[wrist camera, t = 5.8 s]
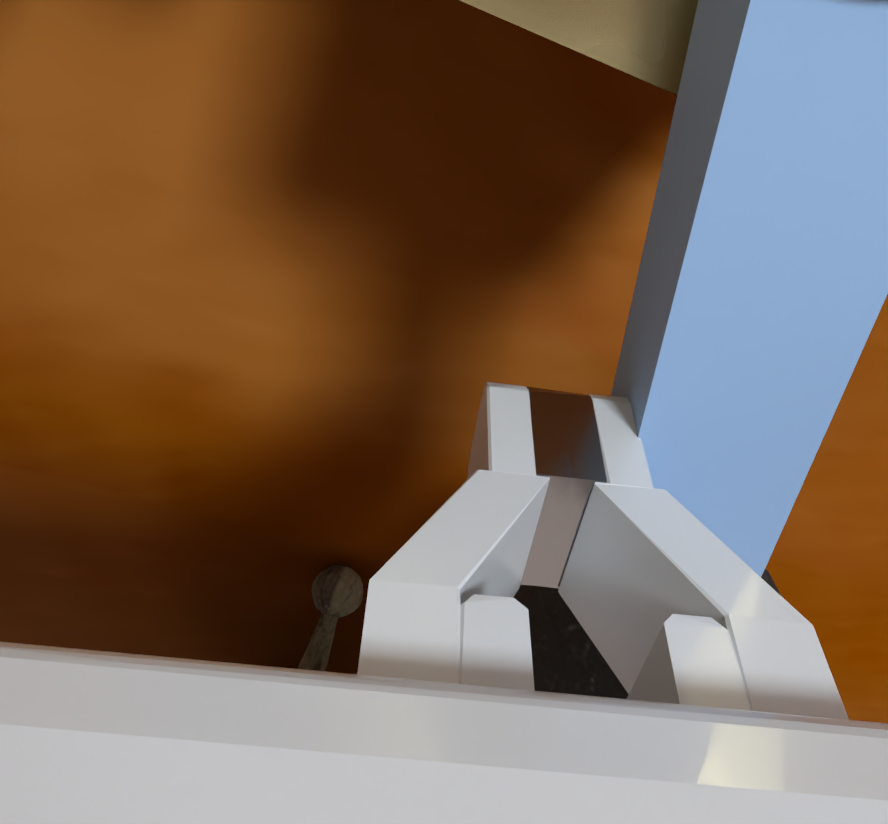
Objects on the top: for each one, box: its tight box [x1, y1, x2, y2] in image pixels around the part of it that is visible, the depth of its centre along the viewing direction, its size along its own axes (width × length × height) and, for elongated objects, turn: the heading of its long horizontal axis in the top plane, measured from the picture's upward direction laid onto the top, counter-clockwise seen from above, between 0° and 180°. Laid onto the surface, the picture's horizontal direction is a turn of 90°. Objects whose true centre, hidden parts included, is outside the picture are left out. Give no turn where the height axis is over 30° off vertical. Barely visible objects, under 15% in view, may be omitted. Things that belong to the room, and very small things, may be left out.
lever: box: [611, 0, 888, 577], centre depth 8 cm, size 11×4×2 cm, turn 177°
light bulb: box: [514, 569, 781, 699], centre depth 18 cm, size 6×6×10 cm
